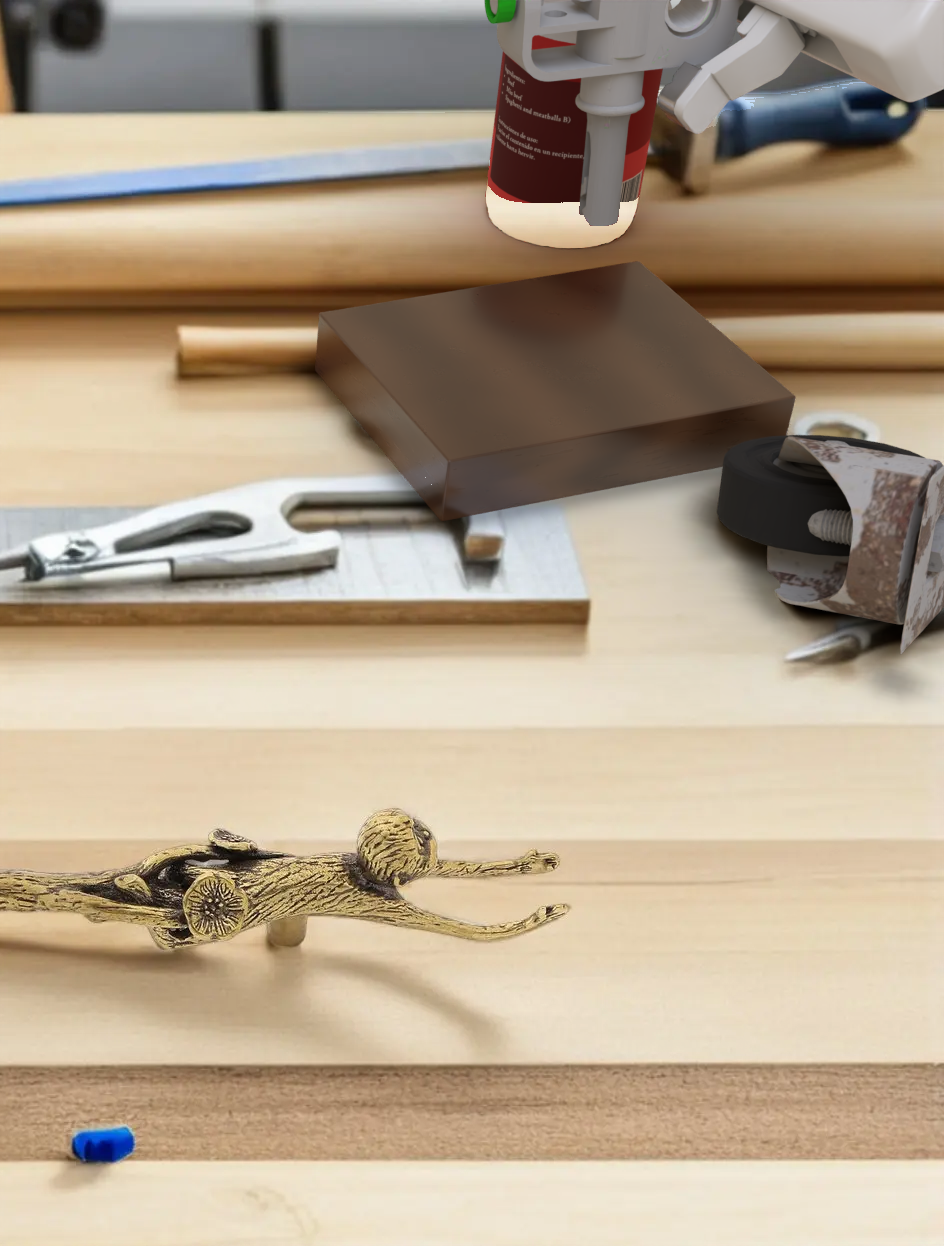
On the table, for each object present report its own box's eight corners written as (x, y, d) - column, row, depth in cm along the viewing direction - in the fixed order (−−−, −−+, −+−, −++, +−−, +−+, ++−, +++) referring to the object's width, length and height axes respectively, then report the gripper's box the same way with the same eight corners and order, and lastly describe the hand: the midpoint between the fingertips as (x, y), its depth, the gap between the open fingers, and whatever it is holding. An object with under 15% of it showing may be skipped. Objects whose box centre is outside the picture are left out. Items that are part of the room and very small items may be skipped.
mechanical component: (464, 220, 84) (479, -39, 78) (702, 190, 85) (735, -65, 79) (490, 248, 82) (507, -16, 76) (734, 217, 83) (770, -45, 77)
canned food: (628, 188, 109) (666, -26, 101) (641, 258, 102) (681, 35, 95) (480, 180, 109) (507, -34, 102) (484, 250, 103) (512, 27, 96)
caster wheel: (749, 528, 89) (992, 572, 84) (651, 605, 80) (915, 659, 75) (770, 373, 86) (1023, 409, 81) (671, 436, 78) (946, 480, 73)
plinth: (628, 319, 98) (638, 260, 96) (781, 458, 89) (797, 396, 87) (313, 372, 94) (318, 312, 92) (440, 525, 84) (448, 461, 82)
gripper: (660, -327, 82) (435, -34, 85) (1070, -194, 69) (788, 149, 72) (724, -221, 87) (508, 54, 90) (1120, -77, 74) (853, 242, 76)
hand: (635, 98), depth 81 cm, fingers closed on mechanical component, 3 cm apart
